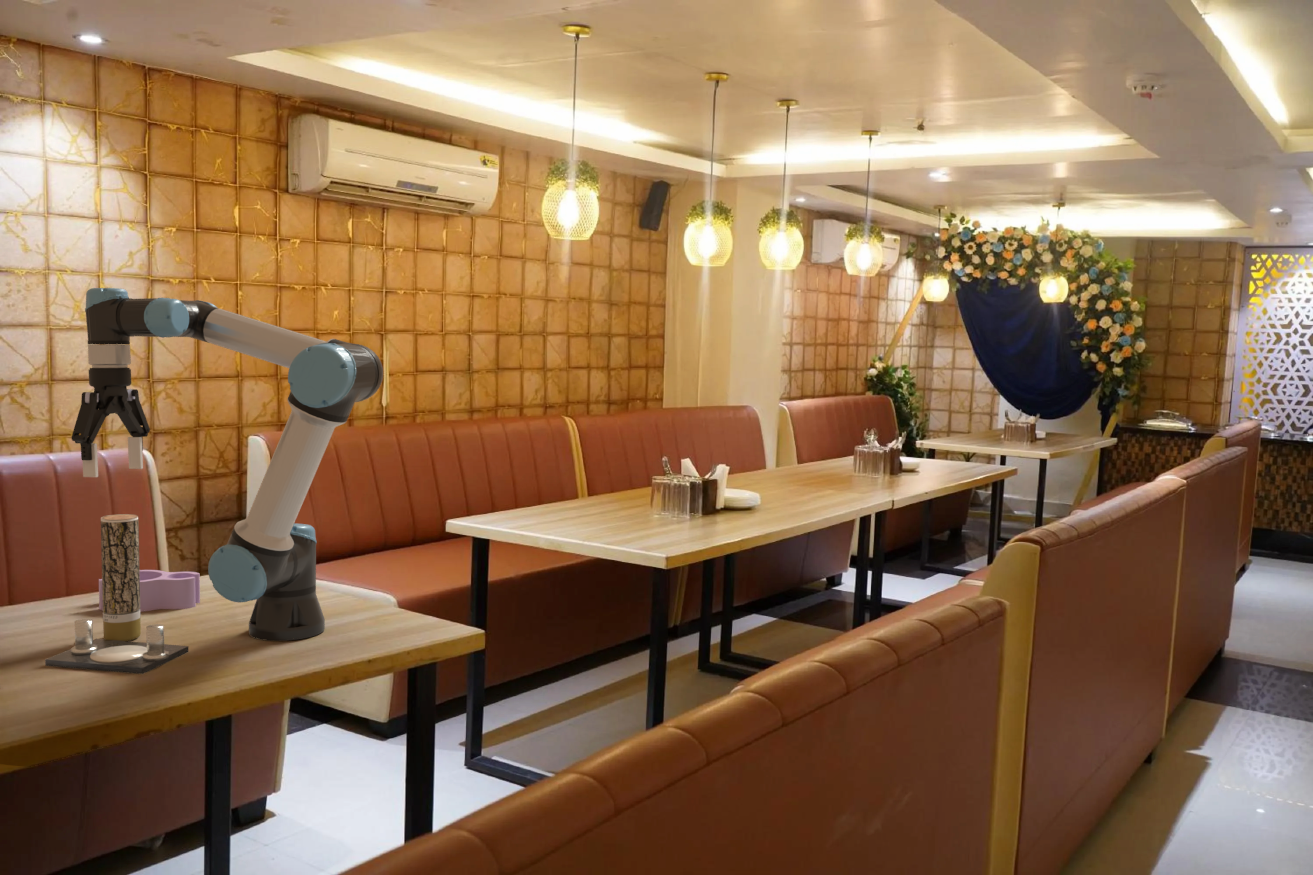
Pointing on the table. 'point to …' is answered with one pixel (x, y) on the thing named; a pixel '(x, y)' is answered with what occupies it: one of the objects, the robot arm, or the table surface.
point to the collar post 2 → (155, 643)
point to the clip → (165, 590)
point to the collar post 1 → (83, 638)
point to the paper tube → (120, 577)
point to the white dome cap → (118, 654)
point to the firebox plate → (130, 666)
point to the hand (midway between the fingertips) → (114, 472)
